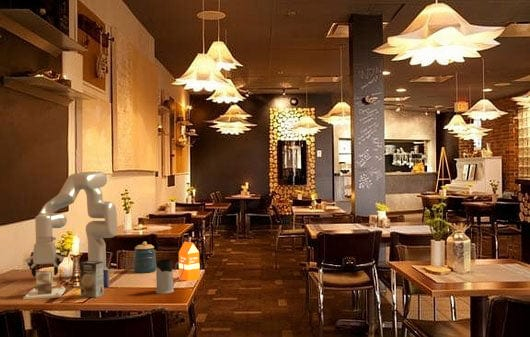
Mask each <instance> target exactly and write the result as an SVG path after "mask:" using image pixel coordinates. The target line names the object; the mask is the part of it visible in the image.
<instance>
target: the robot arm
mask: <svg viewBox="0 0 530 337" xmlns="http://www.w3.org/2000/svg"><path fill="white" fill-rule="evenodd" d="M107 182H108V177H107V174H106V173H105V172H103V171H83V172H78V173H72V174H70V175H68V177H67V178H66V180H65V182H64V184H63V186H62V187H61V189H60V191H59V193H58V194H56V196H54V197H53V198H51V199H50V200H49V201H47V202H46V203H44V205H43V206H42V208H41V210H40V211H39V213H38V215H36V216H35V219H34V222H35V225H34V226H35V243H34V245H33V252H32V255H31V256H29V257H27V258H25V262H26V263H27V266H29V268H30V269H31V275H32V277H33V278H34V277H36V274H37V268H36V266H37V265H47V264H52V265H53V266H54V267H53V276H57V275H58V273H59V266H60V264H62V262H63V260H64V256H62V255H59V254H57V250H56V248H57V247H56V243H55V242H54V241H56V240H57V239H56V236H55V237H54V235H53V229H61V228H64V227H65V225H67V223H68V220H67V216H66V214H63V213H61V212H57V211H58V210H60V209H63V208H65V207H68V206H70V205H72V204H74V203H75V201H76V199H77V197H78V195H79V193H80V191H82V190H83V191H84V192H85V195H86V208H87V209H86V210H87V215H88V217H89V218H91V219H104V220H91V221H89V222H87V224H86V226H85V234H86V240H87V257H88V259H87V261H101V262H103V269H108V267H107V255H106V254H107V253H106V252H107V251H106V248H107V247H106V246H107V245H106V242H105V240H104V239H106V238H107V239H111V238H114V237H115V236H116V235H117V232H118V218H117V217H118V215H117V214H118V213H117V208H116V205H115V203H114V202H112V201H104V199H103V191H102V189H101V188H104V187H105V185H106V184H107ZM57 259H59V261H58V262H57ZM31 260H32V262H31ZM114 273H115V269H109V274H114Z"/></svg>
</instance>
